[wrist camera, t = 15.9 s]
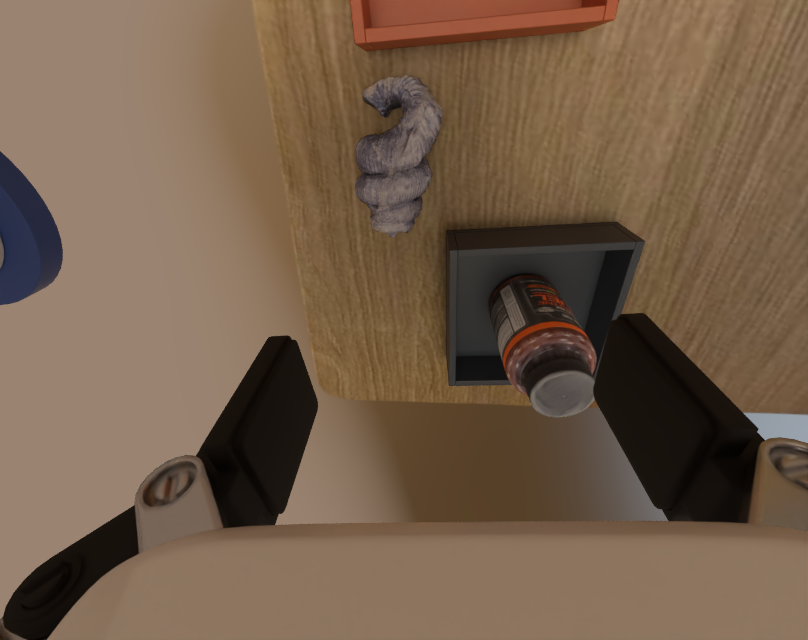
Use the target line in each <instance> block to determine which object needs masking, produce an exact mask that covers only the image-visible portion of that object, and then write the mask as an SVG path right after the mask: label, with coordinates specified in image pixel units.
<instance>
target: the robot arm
mask: <svg viewBox="0 0 808 640" xmlns="http://www.w3.org/2000/svg"><path fill="white" fill-rule="evenodd" d="M3 261H4V246H3V243H2V240H1V236H0V268H1V267H2V264H3ZM593 395H594V398H595V400H596V402H597V404H598V406H599V408H600V410H601V411H602V413H603V415H604V417H605V418H606V420H607V422H608V424H609V426H610V428H611V429H612V431H613V433H614V435H615V436H616V438H617V440H618V442H619V444H620V446H621V447H622V449H623V451H624V452H625V454H626V456H627V458H628V460H629V462H630V463H631V465H632V467H633V469H634V471H635V472H636V474H637V476H638V478H639V480H640V481H641V483H642V485H643V487H644V488H645V491H646V492H647V494H648V496H649V498H650V499H651V501H652V503H653V504H654V506H655V507H657V508H658V509H662V510H663V512H664V514H665V516H666V517H667V519H668V521H527V522H526V521H522V522H521V521H519V522H422V523H421V522H420V523H419V522H418V523H417V522H416V523H415V522H414V523H413V522H412V523H342V524H297V525H275V523H276V520H277V517H278V514H282V513H283V512H284V510H285V508H286V506H287V502H288V499H289V496H290V493H291V490H292V487H293V484H294V481H295V478H296V474H297V472H298V468H299V466H300V462H301V459H302V456H303V453H304V450H305V447H306V444H307V441H308V438H309V435H310V432H311V429H312V426H313V422H314V419H315V416H316V413H317V410H318V401H317V398H316V395H315V392H314V389H313V386H312V384H311V380H310V378H309V375H308V372H307V369H306V366H305V363H304V360H303V358H302V355H301V352H300V349H299V346H298V343H297V341H296V340H292V339H291V338H290V336H272V337H269V338H268V339H267V341H266V342H265V344H264V346H263V347H262V349H261V350H260V352H259V354H258V355H257V357H256V359H255V360H254V362H253V363H252V365H251V367H250V368H249V370H248V371H247V373H246V375H245V376H244V378H243V380H242V381H241V383H240V385H239V386H238V388H237V389H236V391H235V393H234V394H233V396H232V397H231V399H230V401H229V402H228V404H227V406H226V407H225V409H224V410H223V412H222V414H221V415H220V417H219V418H218V420H217V422H216V423H215V425H214V427H213V428H212V430H211V432H210V433H209V435H208V436H207V438H206V440H205V442H204V443H203V445H202V446H201V448H200V450H199V452H198V454H197V455H196V456H191V455H185V456H180V457H176V458H174V459H172V460H169V461H167V462H165V463H164V464H162V465H161V466H159V467H158V468H156V469H155V470H154V471H153V472H152V473H150V475H148V476H147V477H146V479H145V480H144V481H143V483H142V484H141V485H140V487H139V489H138V491H137V493H136V497H135V505H134V506H133V507H131V508H129V509H128V510H126V511H125V512H123V513H121V514H120V515H118V516H117V517H115V518H114V519H112V520H110V521H109V522H107V523H106V524H104V525H102V526H101V527H99V528H98V529H96V530H94V531H93V532H91V533H90V534H88V535H86V536H85V537H83V538H82V539H80V540H79V541H77V542H75V543H74V544H72V545H71V546H69V547H67V548H66V549H64V550H63V551H61V552H59V553H58V554H57V555H55V556H53V557H52V558H50V559H49V560H47V561H46V562H45V563H43V564H42V565H40V566H39V567H38V568H36V569H35V570H34V571H33V572H32V573H31V574H30V575H29V576H28V577H27V578H26V579H25V580H24V581H23V582H22V584H21V585H20V586H19V587H18V588H17V590H16V591H15V592H14V593H13V595H12V597H11V599H10V600H9V602H8V604H7V606H6V608H5V612H4V616H3V617H2V618H1V619H0V640H808V443H805V442H801V441H798V440H794V439H788V438H770V439H767V440H764V439H763V438H762V437H761V436H760V435H759V434H758V433H757V431H758V428H757V427H756V426H755V425H754V424H753V423H752V422H751V421H750V420H749V419H748V418H747V417H746V416H745V415H744V414H743V413H742V412H741V411H740V410H739V409H738V408H737V406H736V405H735V404H734V403H733V402H732V401H731V400H730V399H729V398H728V397H727V396H726V395H725V394H724V393H723V392H722V391H721V390H720V389H719V388H718V387H717V386H716V385H715V384H714V383H713V382H712V381H711V380H710V379H709V378H708V377H707V376H706V375H705V374H704V373H703V372H702V371H701V370H700V369H699V368H698V367H697V366H696V365H695V364H694V363H693V362H692V361H691V360H690V359H689V358H688V357H687V356H686V355H685V354H684V353H683V352H682V351H681V350H680V349H679V348H678V347H677V346H676V345H675V344H674V343H673V342H672V341H671V340H670V339H669V338H668V337H667V336H666V335H665V334H664V333H663V332H662V331H661V330H660V329H659V328H658V326H657V325H656V324H655V323H654V322H653V321H652V320H651V319H650V318H649V317H648V316H647V315H645V314H643V313H635V314H621V315H619V316H618V317H617V319H616V320H612V322H611V323H610V326H609V330H608V334H607V338H606V341H605V345H604V349H603V353H602V356H601V360H600V364H599V368H598V371H597V375H596V379H595V383H594V386H593Z"/></svg>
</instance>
